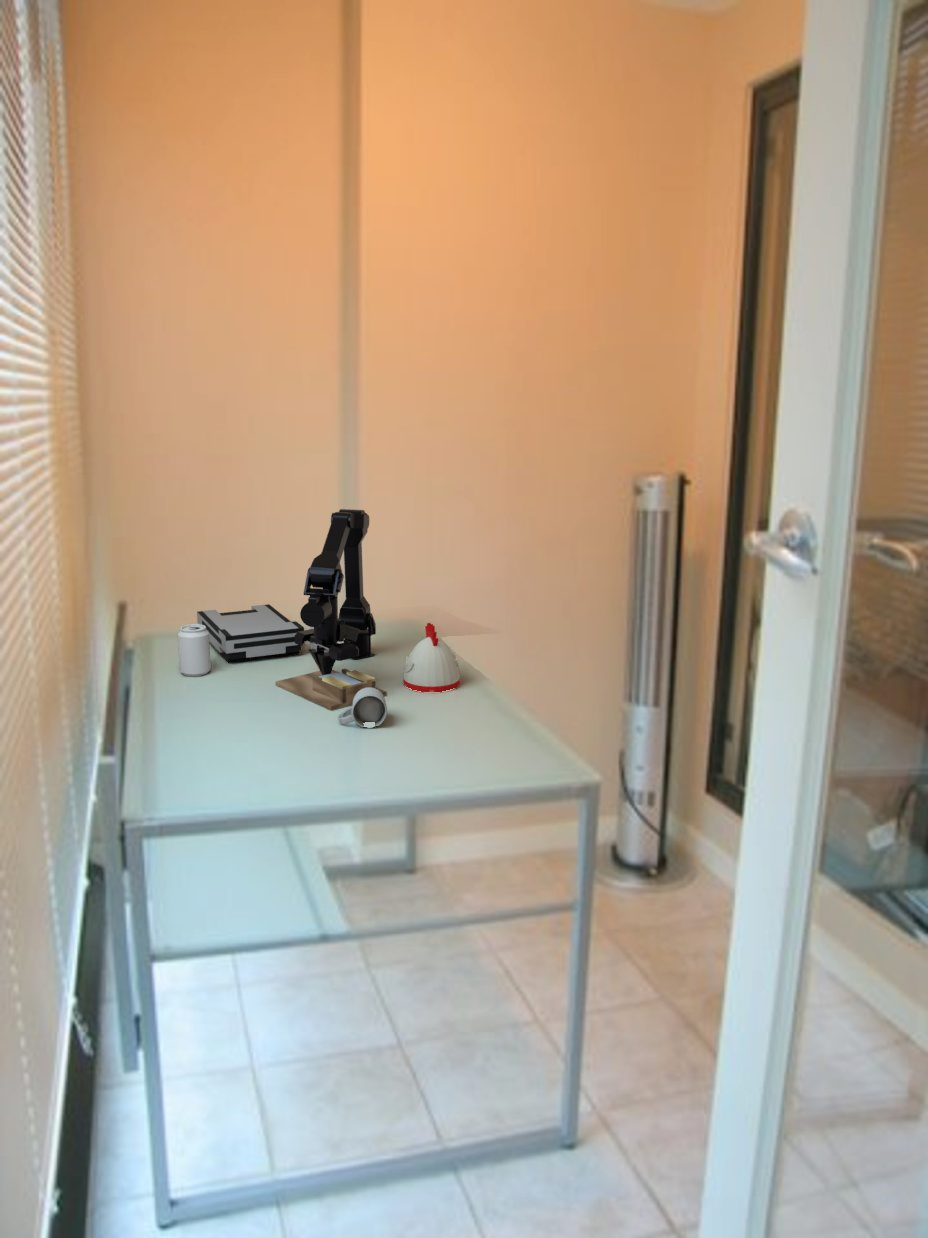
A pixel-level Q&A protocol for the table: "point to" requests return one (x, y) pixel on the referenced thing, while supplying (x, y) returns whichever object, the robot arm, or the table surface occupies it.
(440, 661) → the kitchen timer
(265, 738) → the table surface
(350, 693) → the board
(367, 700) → the ceramic mug
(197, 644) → the can
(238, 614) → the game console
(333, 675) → the blue-grey rectangular block
